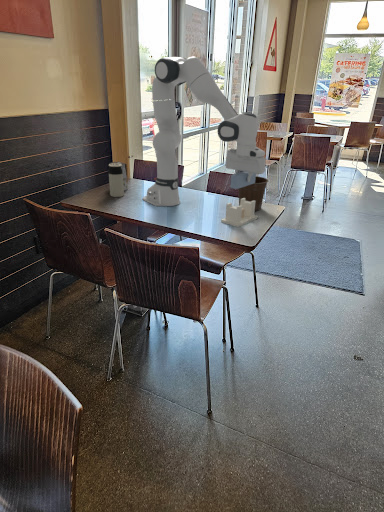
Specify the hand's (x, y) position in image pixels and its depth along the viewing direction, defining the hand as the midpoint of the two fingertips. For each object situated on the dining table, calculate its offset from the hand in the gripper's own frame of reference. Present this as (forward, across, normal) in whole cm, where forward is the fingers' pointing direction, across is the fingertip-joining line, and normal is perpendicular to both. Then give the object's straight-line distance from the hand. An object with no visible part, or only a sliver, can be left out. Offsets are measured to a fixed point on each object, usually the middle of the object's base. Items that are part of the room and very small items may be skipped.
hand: (243, 180), depth 165 cm
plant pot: (+20, -7, +20) cm, 29 cm away
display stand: (+20, 0, 0) cm, 20 cm away
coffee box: (+19, -85, -8) cm, 88 cm away
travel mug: (+19, -75, -18) cm, 80 cm away
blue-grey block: (+2, 0, 0) cm, 2 cm away
